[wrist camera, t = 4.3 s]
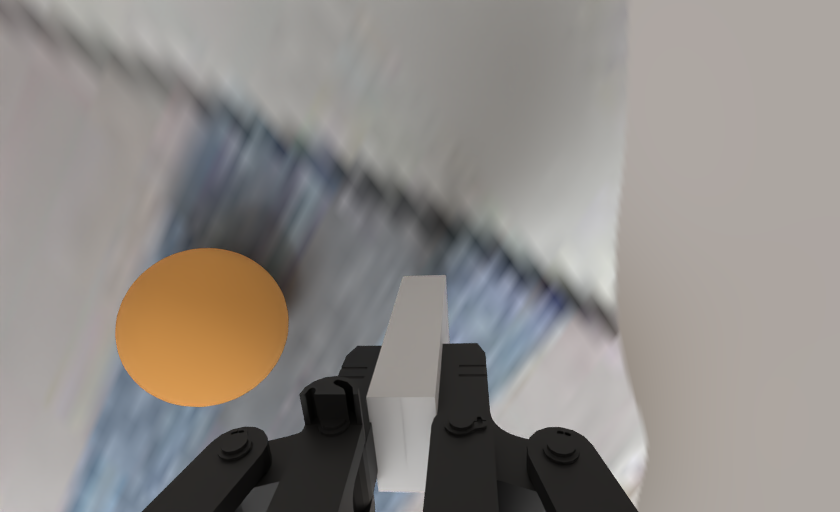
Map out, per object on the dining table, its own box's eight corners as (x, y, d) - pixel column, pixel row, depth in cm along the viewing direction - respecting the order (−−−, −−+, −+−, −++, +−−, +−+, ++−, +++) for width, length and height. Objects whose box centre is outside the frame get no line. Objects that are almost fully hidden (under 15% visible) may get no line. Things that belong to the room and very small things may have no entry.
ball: (196, 350, 20) (104, 442, 15) (162, 230, 18) (44, 290, 13) (317, 349, 20) (265, 444, 15) (296, 225, 18) (227, 285, 13)
